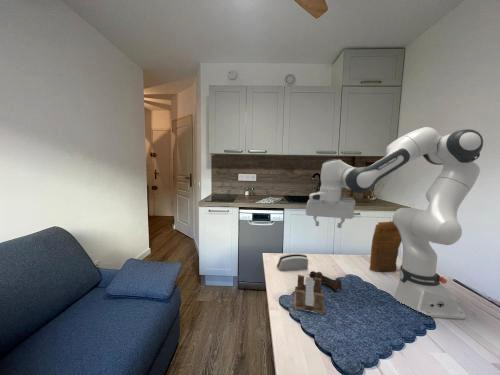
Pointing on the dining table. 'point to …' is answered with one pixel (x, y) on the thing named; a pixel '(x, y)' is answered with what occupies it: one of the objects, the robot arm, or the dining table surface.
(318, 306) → the clevis block
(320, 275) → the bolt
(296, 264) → the grey napkin holder
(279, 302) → the dining table surface
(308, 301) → the steel pin
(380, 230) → the pancake mix bag
